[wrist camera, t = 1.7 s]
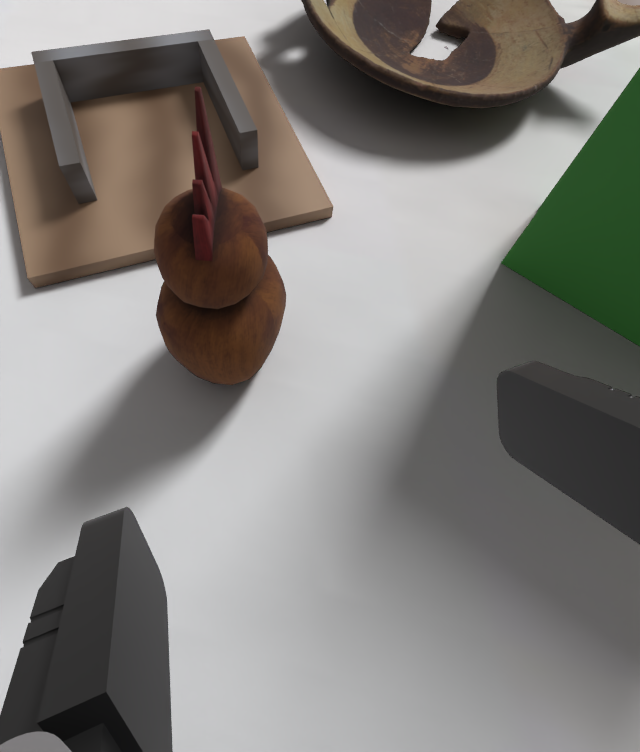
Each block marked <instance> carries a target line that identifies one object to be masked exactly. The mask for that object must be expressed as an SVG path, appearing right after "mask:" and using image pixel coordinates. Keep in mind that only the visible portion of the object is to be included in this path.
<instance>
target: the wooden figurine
mask: <svg viewBox="0 0 640 752" xmlns="http://www.w3.org/2000/svg"><path fill="white" fill-rule="evenodd" d="M195 108H196V127H197V131H192V145H193V157H194V170H195V179H193V180H192V189H190V190H187V191H185V192H183V193H181V194H179V195H178V196H176V197H174V198H173V199H172V200H171V201H170V202H169V203H168V204H167V205H165V207H164V209H163V211H162V212H161V215H160V217H159V219H158V221H157V223H156V226H155V238H154V254H155V258H156V262H157V264H158V267H159V270H160V272H161V275H162V278H163V279H164V283H163V285H162V287H161V292H160V296H159V300H158V305H157V312H156V317H157V321H158V326H159V328H160V331H161V334H162V336H163V339H164V342H165V344H166V346H167V348H168V350H169V352H170V353H171V354H172V355H173V356H174V358H175V359H176V360H177V361H178V362H180V363H181V364H182V365H183V366H184V367H186V368H187V369H188V370H189V371H190V372H192V373H193V374H194V375H196V376H197V377H199V378H202V379H204V380H207V381H209V382H212V383H217V384H227V385H233V384H236V383H239V382H242V381H246V380H249V379H250V378H251V377H252V376H253V375H254V374H255V373H256V372H257V371H258V370H259V369H260V368H261V367H262V365H263V363H264V362H265V360H266V359H267V357H268V355H269V354H270V352H271V350H272V348H273V346H274V343H275V341H276V338H277V336H278V333H279V330H280V327H281V323H282V319H283V314H284V310H285V305H286V292H285V287H284V283H283V281H282V278H281V276H280V274H279V272H278V270H277V267H276V265H275V264H274V262H273V260H272V259H271V257H270V256H269V255H268V243H267V231H266V228H265V226H264V224H263V222H262V219H261V217H260V215H259V213H258V211H257V209H256V208H255V206H254V205H253V204H252V203H250V202H249V201H248V200H247V199H246V198H245V197H244V196H243V195H241V194H238V193H236V192H234V191H231V190H229V189H226V188H222V185H221V180H220V175H219V170H218V165H217V160H216V156H215V151H214V146H213V141H212V137H211V132H210V127H209V122H208V118H207V113H206V108H205V104H204V99H203V94H202V89H201V87H196V86H195Z"/></svg>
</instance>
